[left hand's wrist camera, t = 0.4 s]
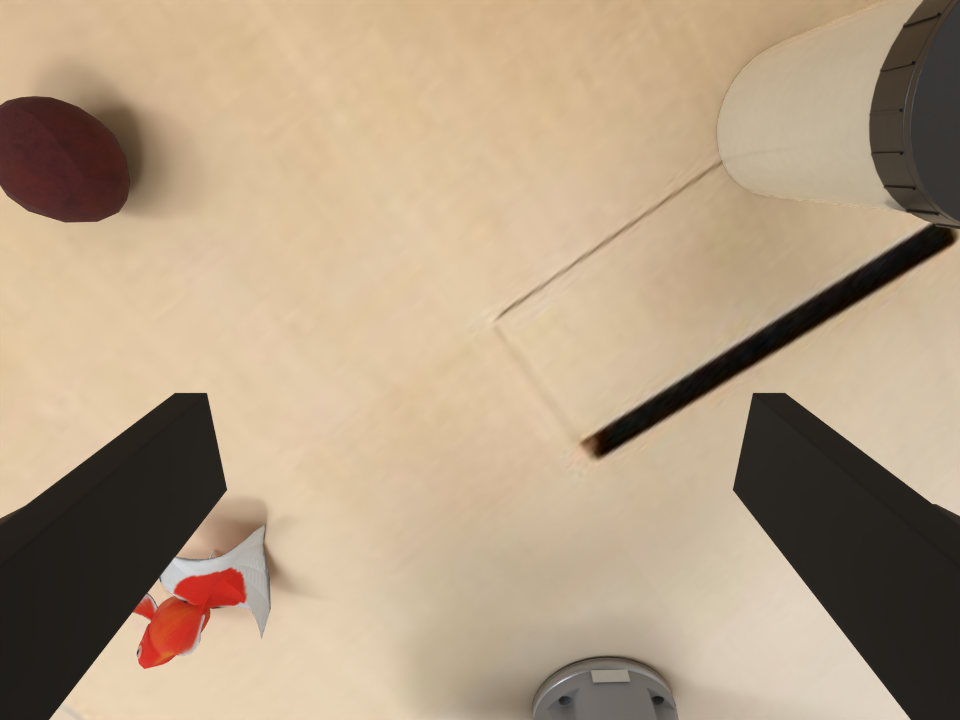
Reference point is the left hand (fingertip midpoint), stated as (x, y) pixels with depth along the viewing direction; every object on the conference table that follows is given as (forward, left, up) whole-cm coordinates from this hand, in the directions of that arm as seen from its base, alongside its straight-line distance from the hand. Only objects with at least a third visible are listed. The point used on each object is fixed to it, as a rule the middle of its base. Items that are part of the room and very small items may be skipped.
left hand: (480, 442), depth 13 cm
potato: (+6, +27, -28) cm, 39 cm away
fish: (-29, +25, -28) cm, 47 cm away
